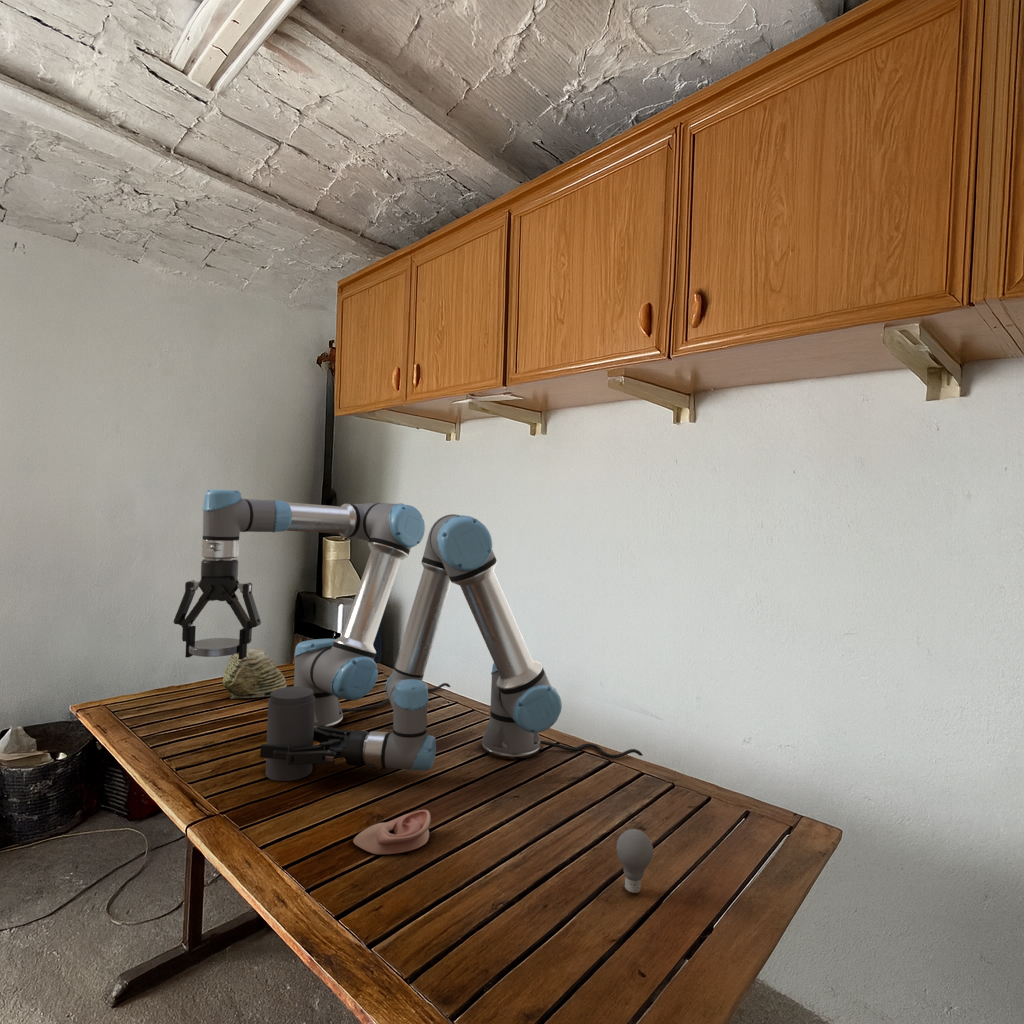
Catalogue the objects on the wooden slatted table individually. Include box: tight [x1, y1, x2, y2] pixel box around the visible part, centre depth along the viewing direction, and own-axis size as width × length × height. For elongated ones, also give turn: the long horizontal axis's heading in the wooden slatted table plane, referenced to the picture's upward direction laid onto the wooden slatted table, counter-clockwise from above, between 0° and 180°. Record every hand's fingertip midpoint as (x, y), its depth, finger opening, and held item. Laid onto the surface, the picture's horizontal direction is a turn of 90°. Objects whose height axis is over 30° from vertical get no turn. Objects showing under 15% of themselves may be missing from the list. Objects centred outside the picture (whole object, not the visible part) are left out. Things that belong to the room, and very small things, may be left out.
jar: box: [265, 686, 315, 782], centre depth 145 cm, size 10×10×18 cm
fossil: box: [222, 647, 288, 699], centre depth 198 cm, size 9×18×15 cm, turn 132°
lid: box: [189, 637, 239, 658], centre depth 141 cm, size 11×11×2 cm
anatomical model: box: [352, 809, 431, 856], centre depth 118 cm, size 13×4×12 cm
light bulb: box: [615, 828, 654, 894], centre depth 106 cm, size 6×6×10 cm
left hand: (216, 657), depth 141 cm, fingers closed on lid, 11 cm apart
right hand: (272, 741), depth 145 cm, fingers closed on jar, 10 cm apart
